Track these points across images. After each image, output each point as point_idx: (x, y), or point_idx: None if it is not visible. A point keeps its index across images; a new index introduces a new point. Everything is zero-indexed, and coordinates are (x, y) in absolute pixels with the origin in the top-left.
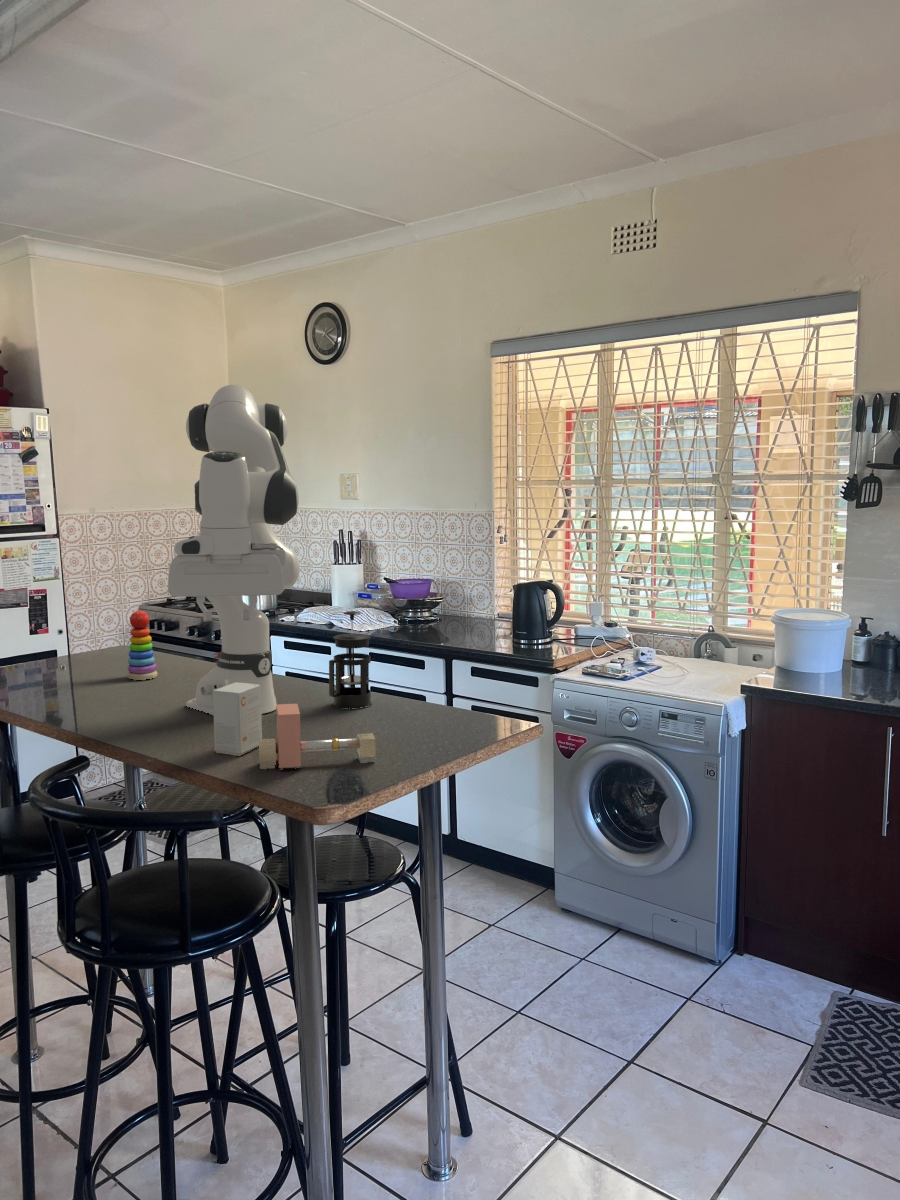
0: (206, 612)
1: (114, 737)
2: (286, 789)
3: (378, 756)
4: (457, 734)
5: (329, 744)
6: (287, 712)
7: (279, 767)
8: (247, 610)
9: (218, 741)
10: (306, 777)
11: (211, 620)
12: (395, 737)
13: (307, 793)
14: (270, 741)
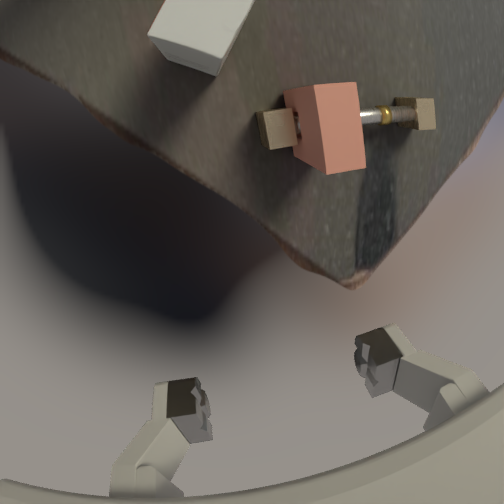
0: (187, 441)
1: (4, 21)
2: (309, 227)
3: (418, 97)
4: (485, 35)
5: (376, 123)
6: (342, 155)
7: (295, 156)
8: (393, 382)
9: (173, 59)
10: (332, 179)
11: (207, 402)
12: (432, 19)
13: (334, 240)
14: (286, 127)
